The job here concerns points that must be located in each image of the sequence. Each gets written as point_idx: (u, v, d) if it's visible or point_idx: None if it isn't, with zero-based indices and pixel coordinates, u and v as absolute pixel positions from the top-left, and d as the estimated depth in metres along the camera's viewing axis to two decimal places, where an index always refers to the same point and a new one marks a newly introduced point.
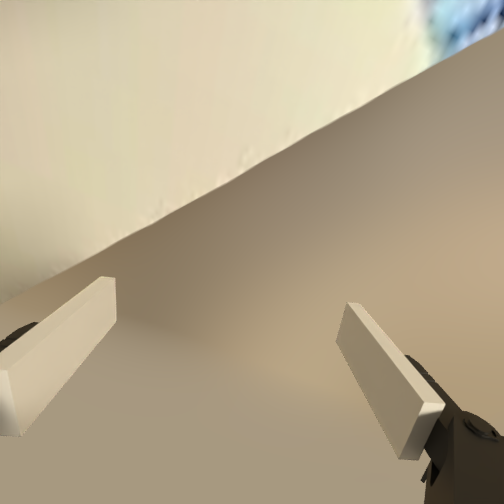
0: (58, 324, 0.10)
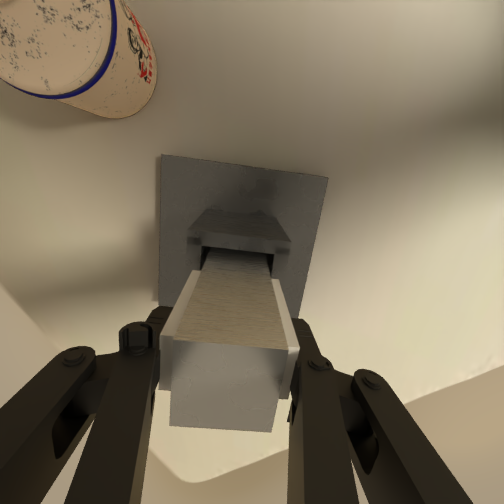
0: None
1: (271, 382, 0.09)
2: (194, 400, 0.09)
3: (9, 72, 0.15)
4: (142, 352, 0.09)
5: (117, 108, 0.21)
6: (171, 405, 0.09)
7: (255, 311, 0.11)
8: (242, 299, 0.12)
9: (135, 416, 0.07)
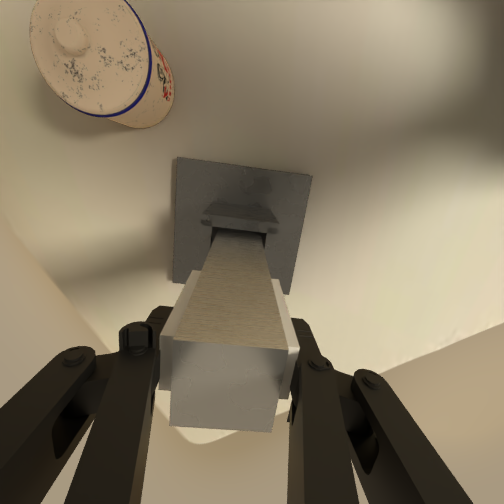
0: None
1: (271, 382, 0.09)
2: (194, 400, 0.09)
3: (75, 99, 0.20)
4: (142, 352, 0.09)
5: (144, 121, 0.26)
6: (171, 405, 0.09)
7: (255, 311, 0.11)
8: (242, 299, 0.12)
9: (135, 416, 0.07)
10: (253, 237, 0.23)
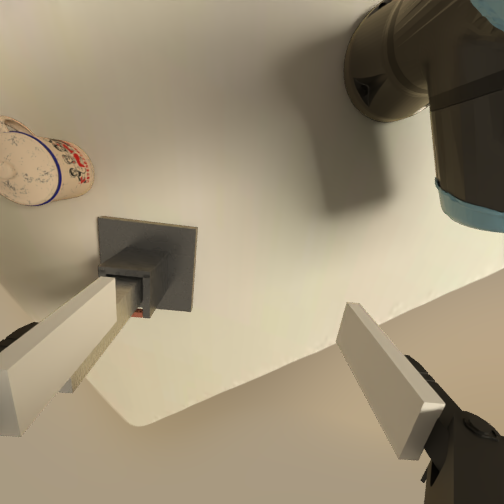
0: (58, 324, 0.10)
1: None
2: None
3: (12, 198, 0.33)
4: None
5: (69, 197, 0.39)
6: None
7: None
8: None
9: None
10: (133, 280, 0.35)
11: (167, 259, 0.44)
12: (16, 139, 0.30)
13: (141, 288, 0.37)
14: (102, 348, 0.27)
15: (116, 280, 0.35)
